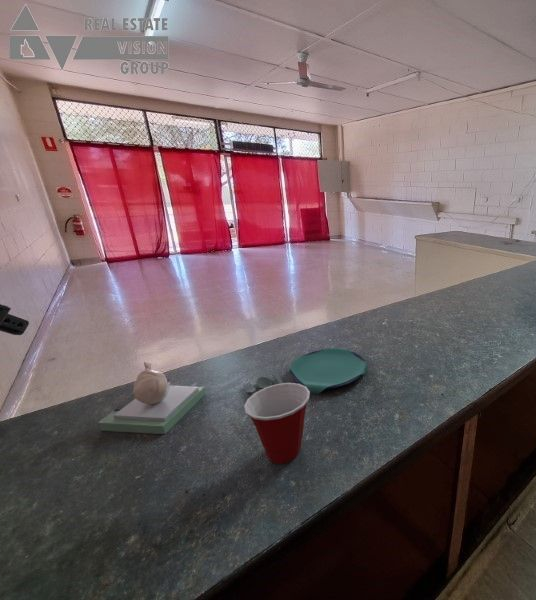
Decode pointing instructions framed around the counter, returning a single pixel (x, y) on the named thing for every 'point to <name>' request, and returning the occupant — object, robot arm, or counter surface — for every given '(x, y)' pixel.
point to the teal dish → (321, 370)
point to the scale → (153, 412)
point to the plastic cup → (279, 419)
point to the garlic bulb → (151, 386)
